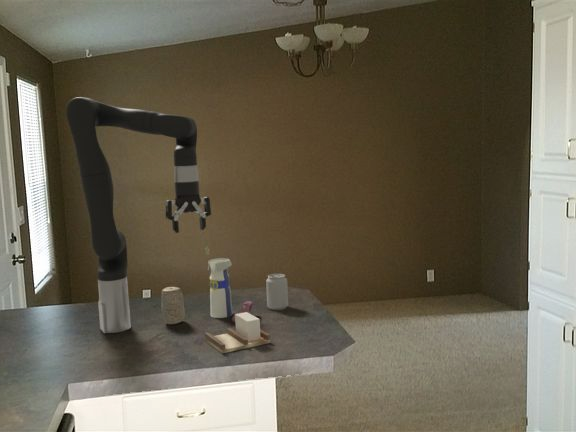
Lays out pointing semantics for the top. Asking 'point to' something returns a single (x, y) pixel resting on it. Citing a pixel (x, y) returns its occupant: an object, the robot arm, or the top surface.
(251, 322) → the plug block
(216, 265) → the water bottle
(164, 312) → the carving
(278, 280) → the can
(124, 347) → the top surface
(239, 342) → the slot rack
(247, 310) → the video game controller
